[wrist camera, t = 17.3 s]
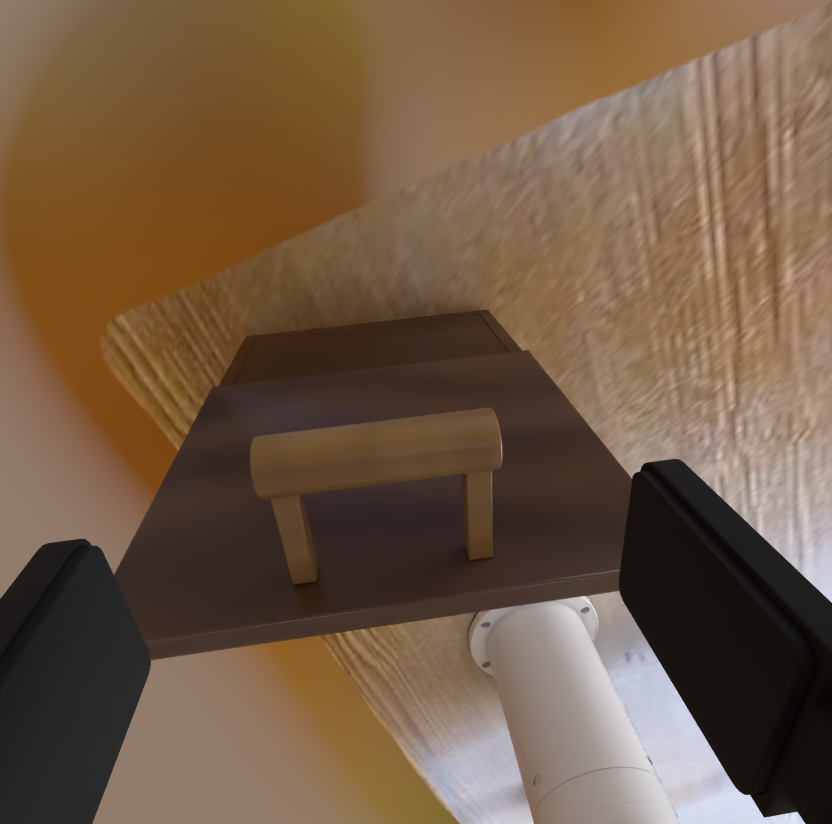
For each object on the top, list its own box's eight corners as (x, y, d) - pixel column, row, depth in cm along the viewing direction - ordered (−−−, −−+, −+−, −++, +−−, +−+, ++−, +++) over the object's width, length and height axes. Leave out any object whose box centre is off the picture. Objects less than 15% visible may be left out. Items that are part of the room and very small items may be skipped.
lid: (694, 581, 15) (736, 413, 12) (83, 671, 14) (-16, 509, 11) (528, 363, 28) (531, 262, 26) (215, 400, 27) (185, 298, 24)
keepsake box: (491, 483, 43) (522, 558, 35) (287, 510, 42) (272, 593, 34) (488, 309, 36) (525, 353, 28) (245, 336, 35) (215, 389, 27)
